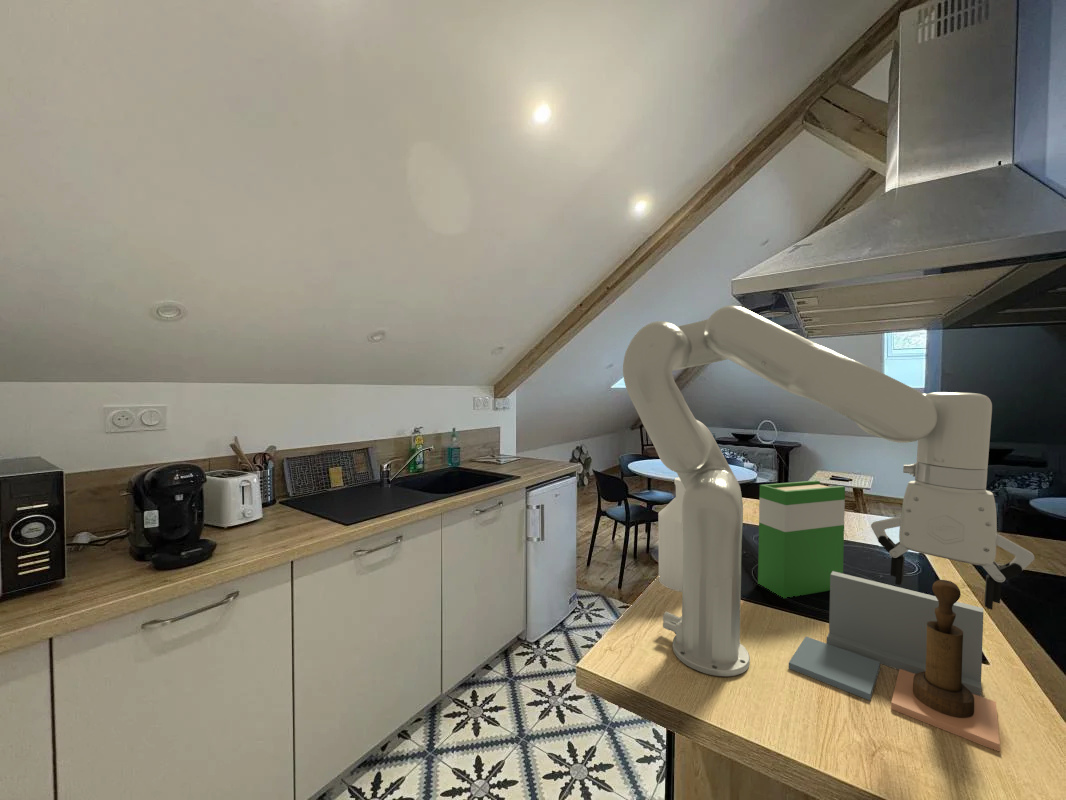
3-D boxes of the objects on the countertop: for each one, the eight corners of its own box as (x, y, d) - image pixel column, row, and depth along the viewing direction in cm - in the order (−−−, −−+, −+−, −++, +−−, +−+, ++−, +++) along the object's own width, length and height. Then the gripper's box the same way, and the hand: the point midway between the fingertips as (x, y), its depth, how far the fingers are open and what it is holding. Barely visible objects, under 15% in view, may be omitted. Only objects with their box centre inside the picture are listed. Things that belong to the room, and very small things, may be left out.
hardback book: (814, 575, 112) (816, 480, 111) (842, 588, 105) (845, 486, 104) (757, 584, 107) (759, 484, 106) (783, 598, 100) (785, 491, 99)
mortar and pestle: (909, 700, 66) (912, 580, 65) (916, 680, 70) (920, 568, 70) (972, 725, 61) (976, 596, 60) (975, 703, 65) (980, 582, 65)
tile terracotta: (891, 709, 65) (891, 702, 65) (899, 674, 73) (899, 668, 73) (999, 752, 58) (999, 744, 58) (995, 708, 66) (995, 701, 66)
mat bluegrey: (788, 668, 75) (788, 662, 75) (805, 641, 83) (805, 636, 83) (869, 700, 67) (870, 694, 67) (880, 667, 75) (880, 662, 75)
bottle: (684, 597, 100) (686, 486, 99) (647, 577, 110) (648, 477, 110) (720, 586, 106) (721, 481, 105) (681, 568, 116) (682, 472, 115)
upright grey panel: (826, 644, 82) (828, 577, 81) (833, 632, 86) (835, 568, 86) (981, 698, 68) (983, 617, 67) (980, 679, 72) (982, 603, 72)
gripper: (871, 471, 68) (864, 581, 69) (1043, 493, 56) (1032, 626, 57) (878, 465, 73) (871, 567, 74) (1036, 484, 61) (1026, 606, 62)
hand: (941, 593), depth 65 cm, fingers open, 9 cm apart
